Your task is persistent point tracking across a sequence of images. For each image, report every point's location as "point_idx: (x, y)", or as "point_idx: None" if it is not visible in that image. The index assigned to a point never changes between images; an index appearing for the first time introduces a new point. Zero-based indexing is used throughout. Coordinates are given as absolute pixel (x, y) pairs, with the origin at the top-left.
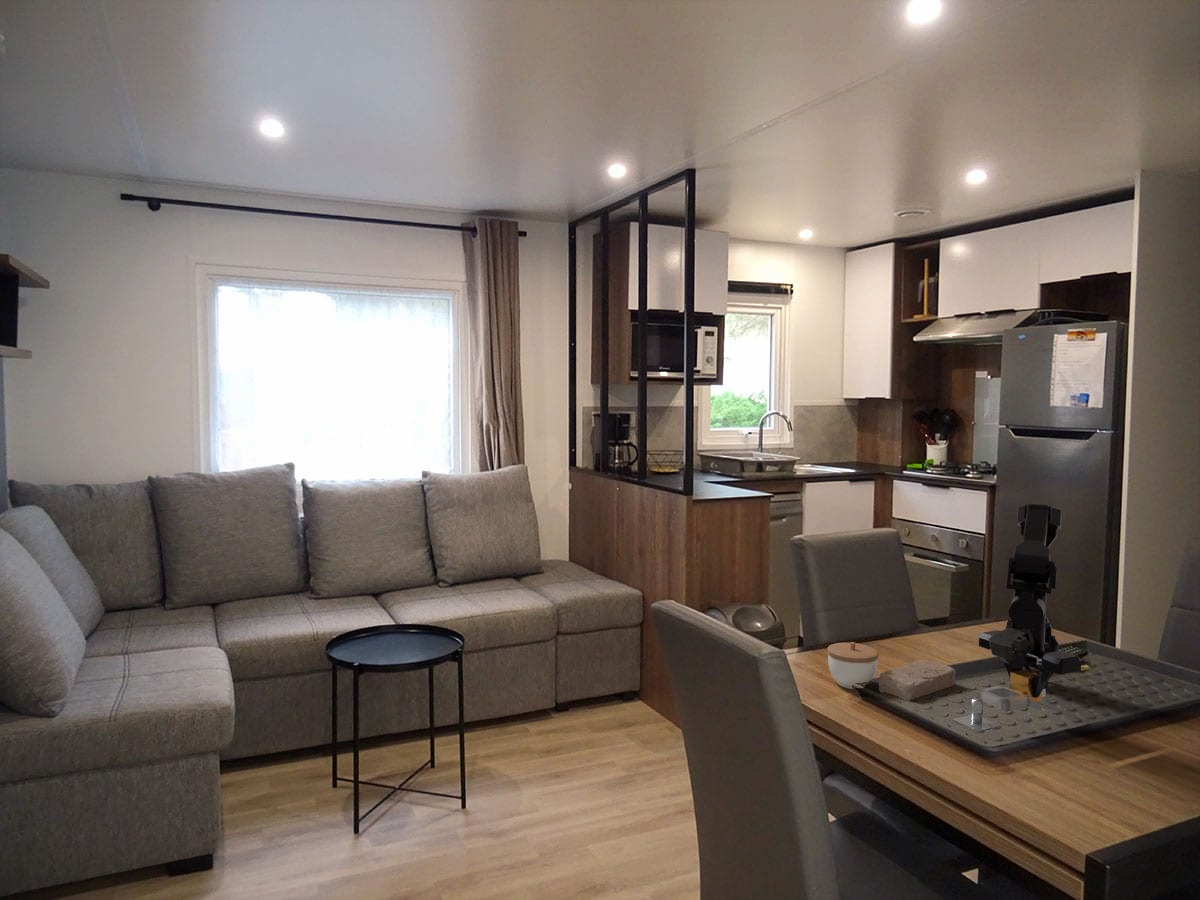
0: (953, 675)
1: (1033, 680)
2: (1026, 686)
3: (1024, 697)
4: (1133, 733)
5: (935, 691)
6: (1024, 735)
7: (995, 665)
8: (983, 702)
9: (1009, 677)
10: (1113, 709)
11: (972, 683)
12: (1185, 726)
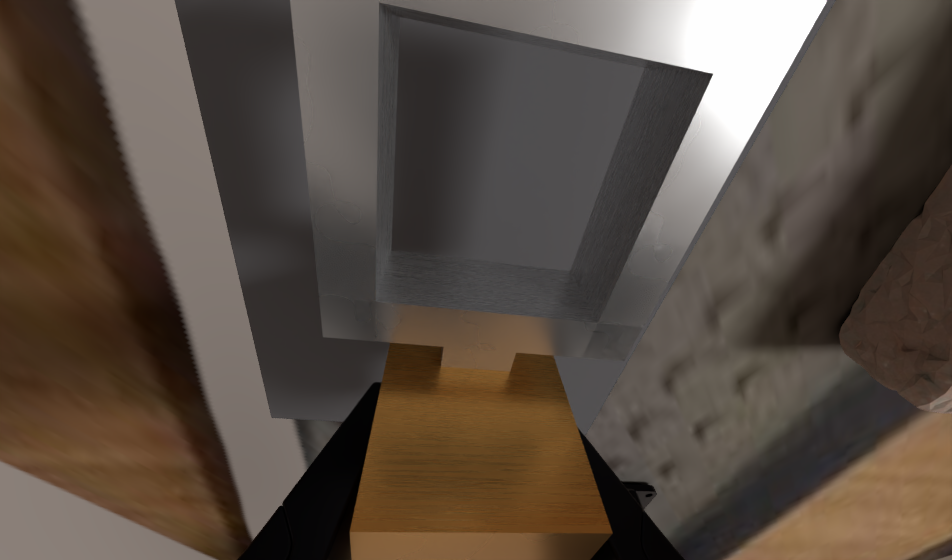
0: (901, 371)
1: (320, 531)
2: (391, 426)
3: (323, 275)
4: (195, 459)
5: (948, 202)
6: None
7: (719, 527)
8: (673, 281)
9: (609, 468)
10: None
11: (758, 411)
12: (211, 551)
